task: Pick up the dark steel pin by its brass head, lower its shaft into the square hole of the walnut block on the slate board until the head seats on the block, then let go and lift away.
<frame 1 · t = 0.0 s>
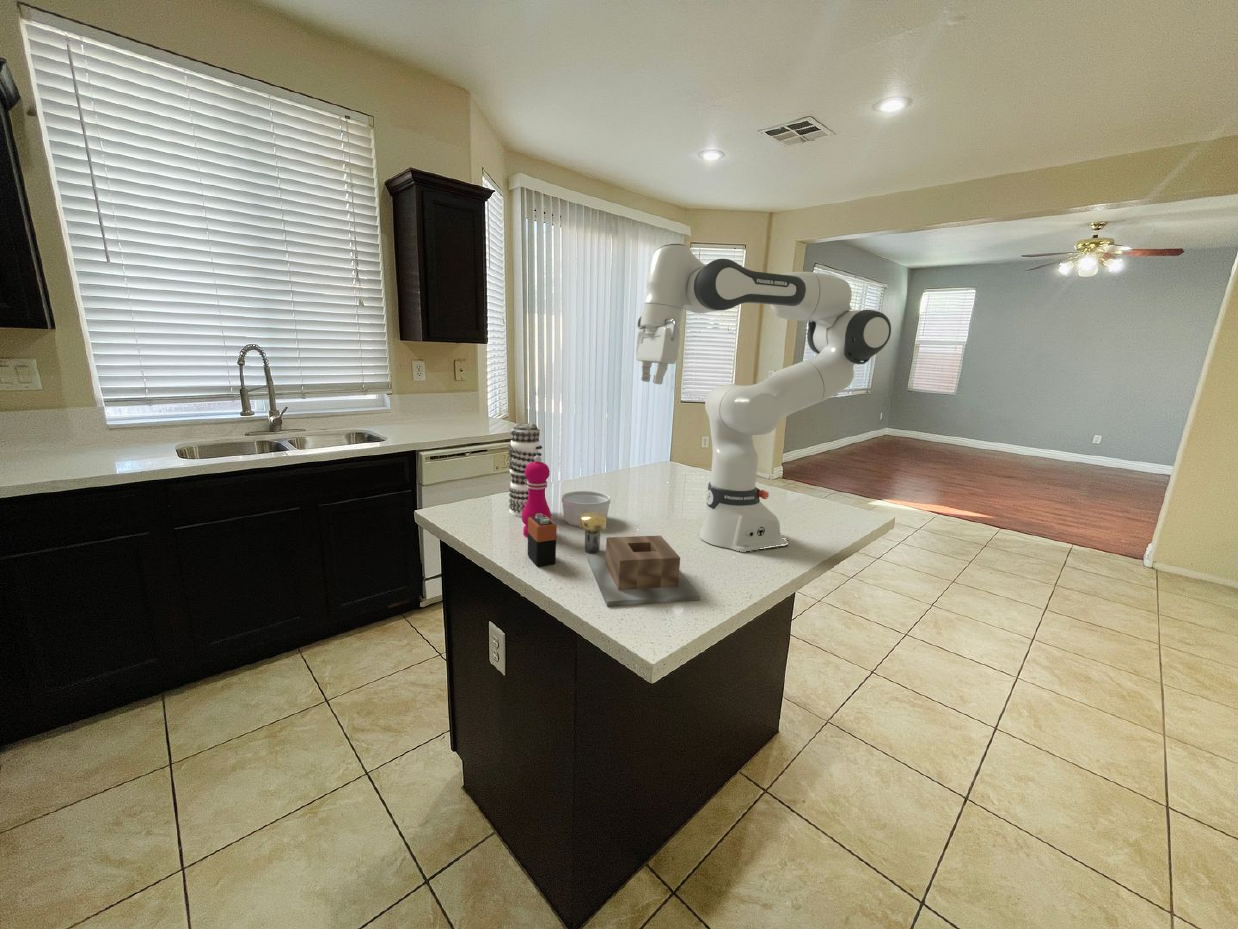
hand: (651, 382, 112), 39 cm above the table, tool pointing down, fingers open, 8 cm apart
pepper mill: (536, 534, 122), on the table
battery: (541, 560, 107), on the table
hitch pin: (592, 550, 113), on the table
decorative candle: (524, 512, 138), on the table
ramekin: (585, 521, 134), on the table
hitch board: (639, 579, 100), on the table
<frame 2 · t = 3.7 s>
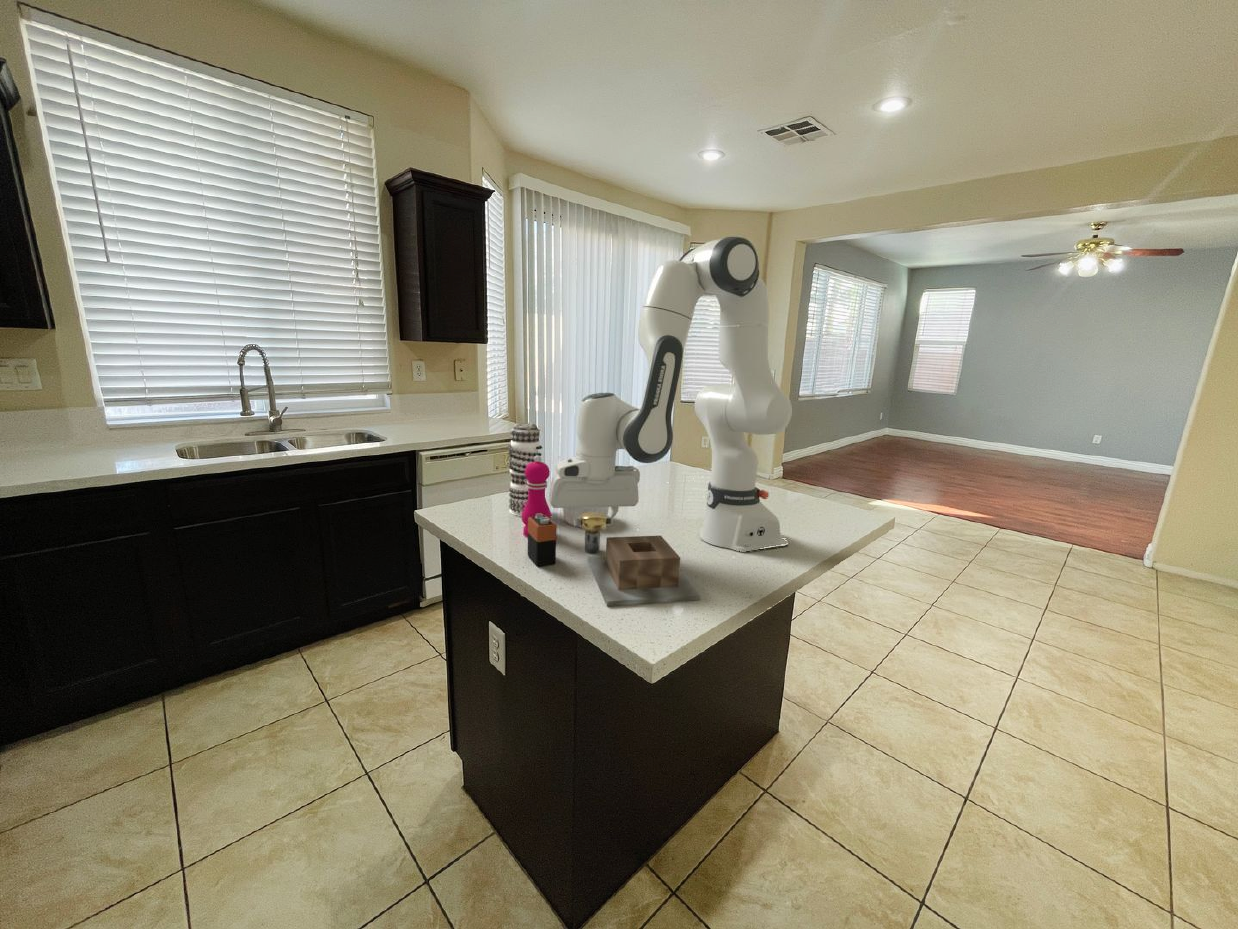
hand: (593, 524, 112), 6 cm above the table, tool pointing down, fingers closed on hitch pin, 6 cm apart
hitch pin: (591, 550, 113), on the table, touching gripper
everything else where it was.
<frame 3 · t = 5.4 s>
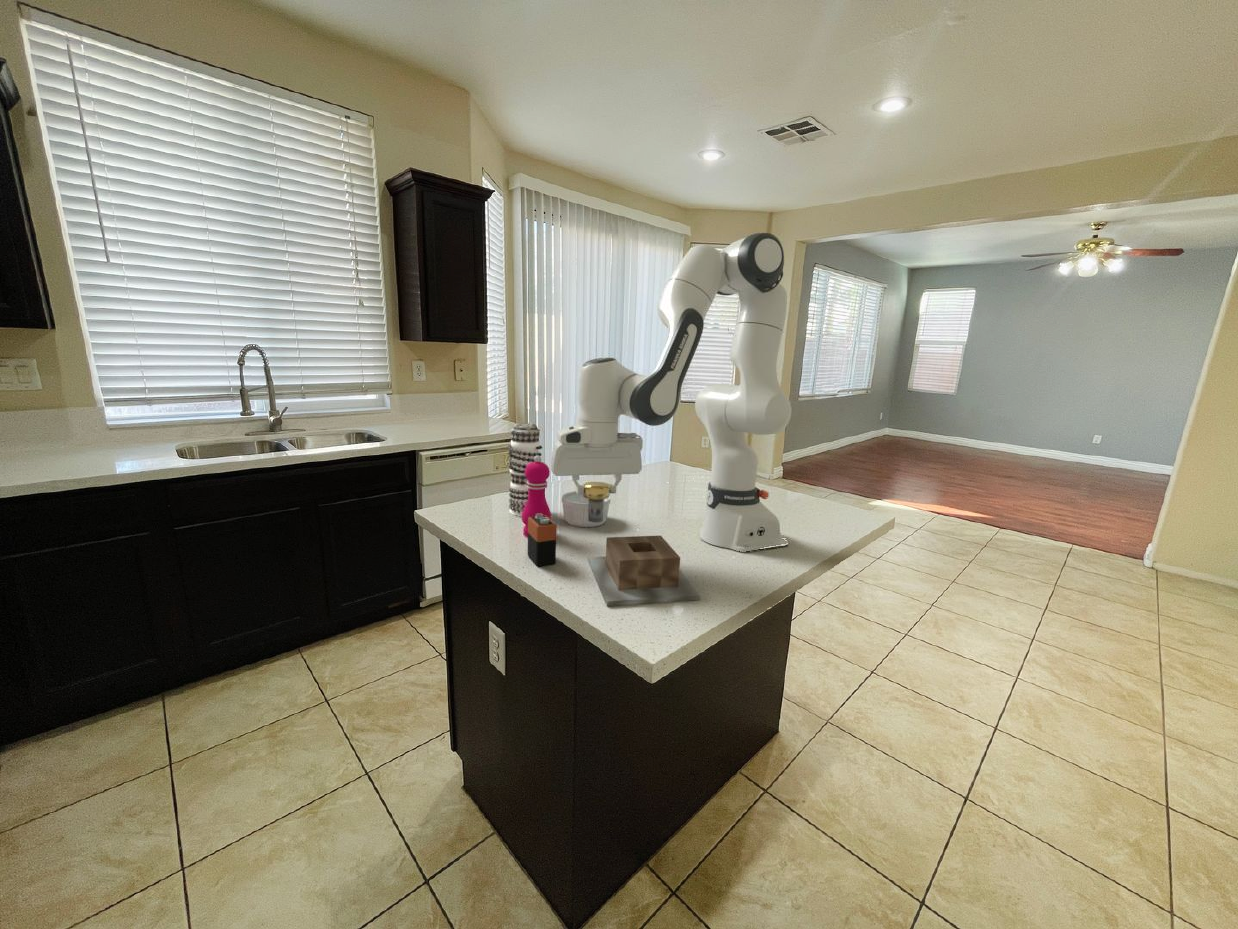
hand: (596, 493, 110), 14 cm above the table, tool pointing down, fingers closed on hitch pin, 6 cm apart
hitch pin: (595, 520, 112), point 7 cm above the table, touching gripper
everything else where it was.
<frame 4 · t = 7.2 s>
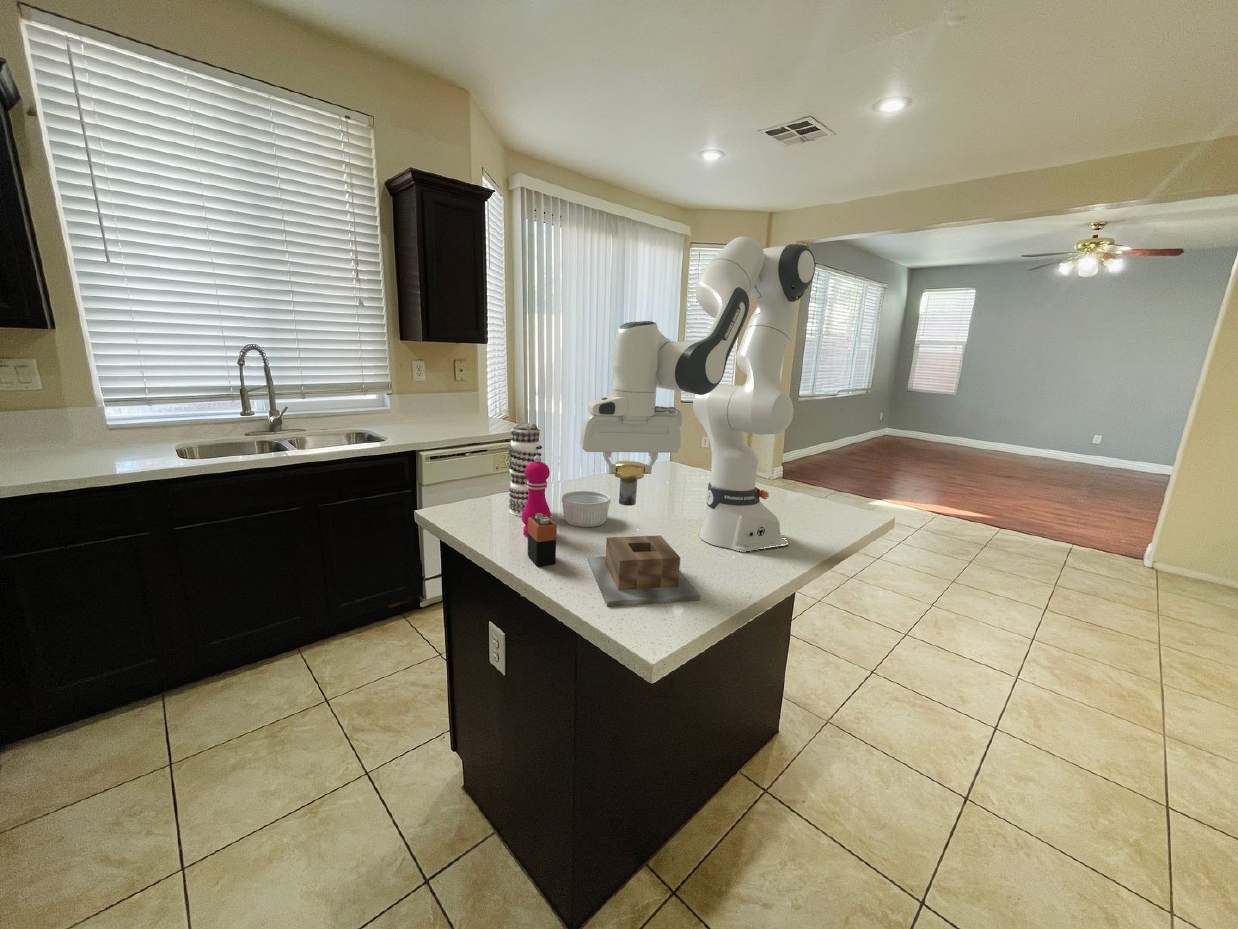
hand: (629, 473, 99), 21 cm above the table, tool pointing down, fingers closed on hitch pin, 6 cm apart
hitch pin: (627, 503, 101), point 15 cm above the table, touching gripper
everything else where it was.
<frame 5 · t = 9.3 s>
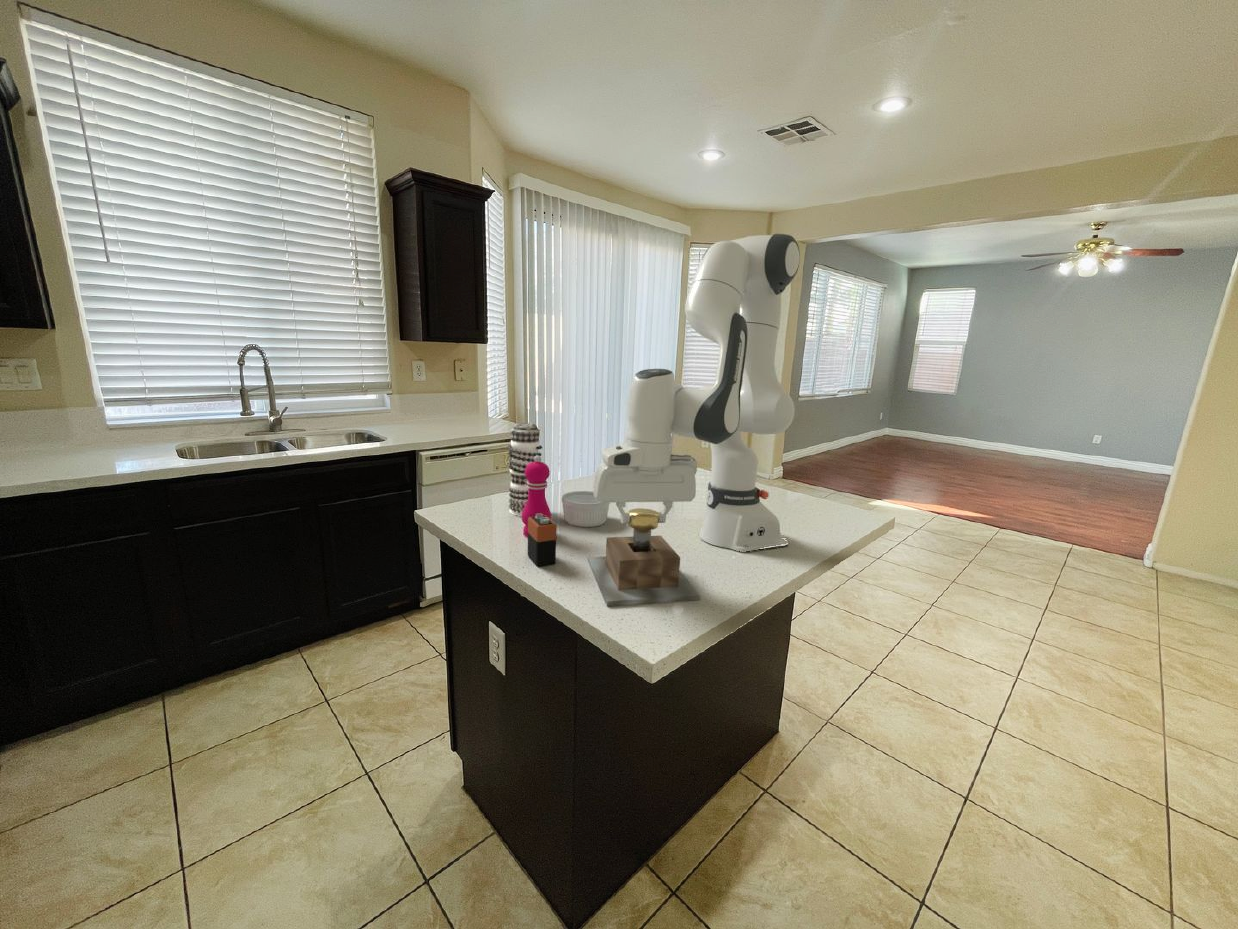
hand: (642, 522, 97), 12 cm above the table, tool pointing down, fingers closed on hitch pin, 6 cm apart
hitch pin: (640, 552, 98), point 6 cm above the table, touching gripper
everything else where it was.
when the fingers open (8 cm above the table, at t = 11.0 s): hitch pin stays where it is, resting on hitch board.
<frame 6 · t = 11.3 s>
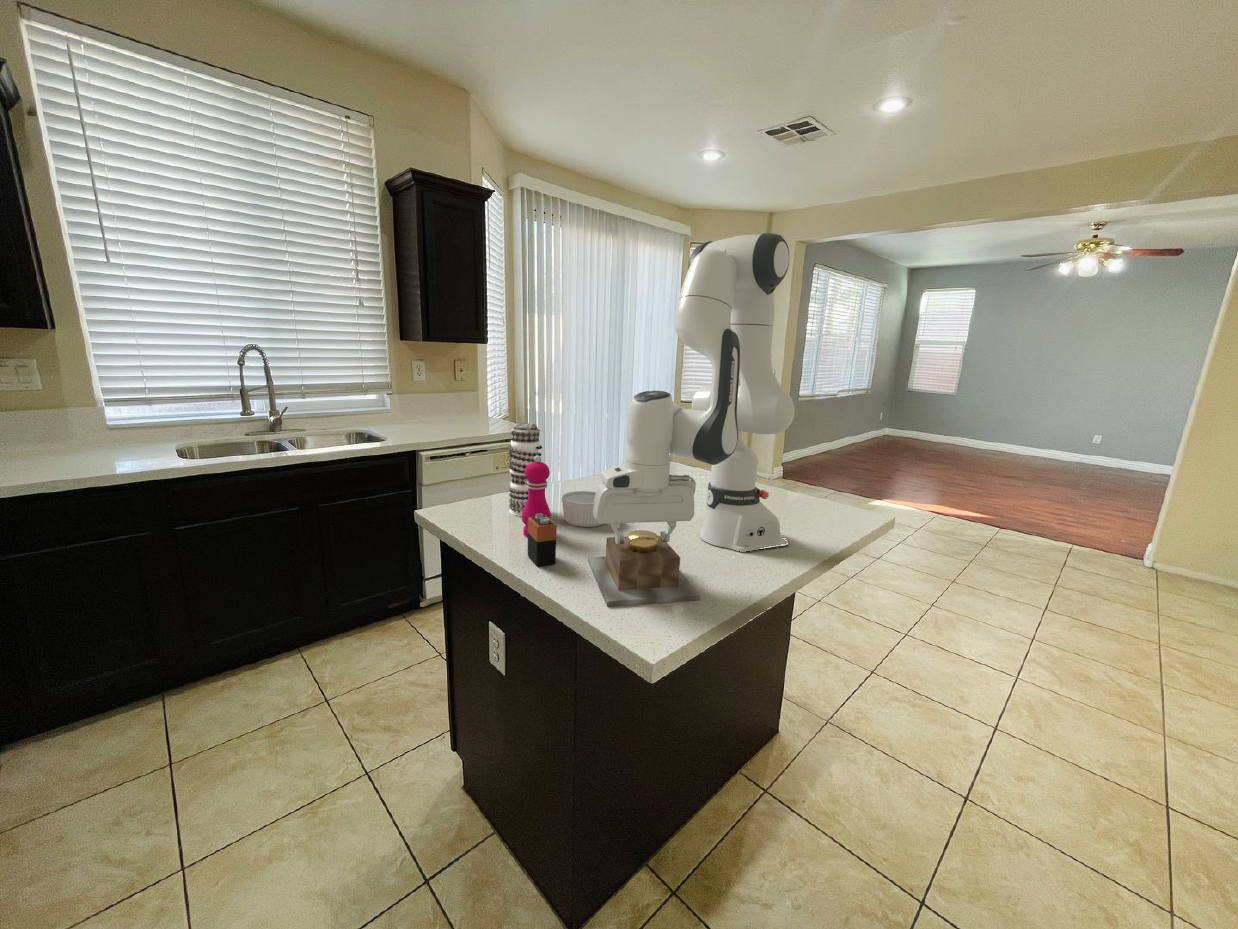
hand: (642, 542, 98), 8 cm above the table, tool pointing down, fingers open, 8 cm apart
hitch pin: (640, 573, 99), point 1 cm above the table, touching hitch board
everything else where it was.
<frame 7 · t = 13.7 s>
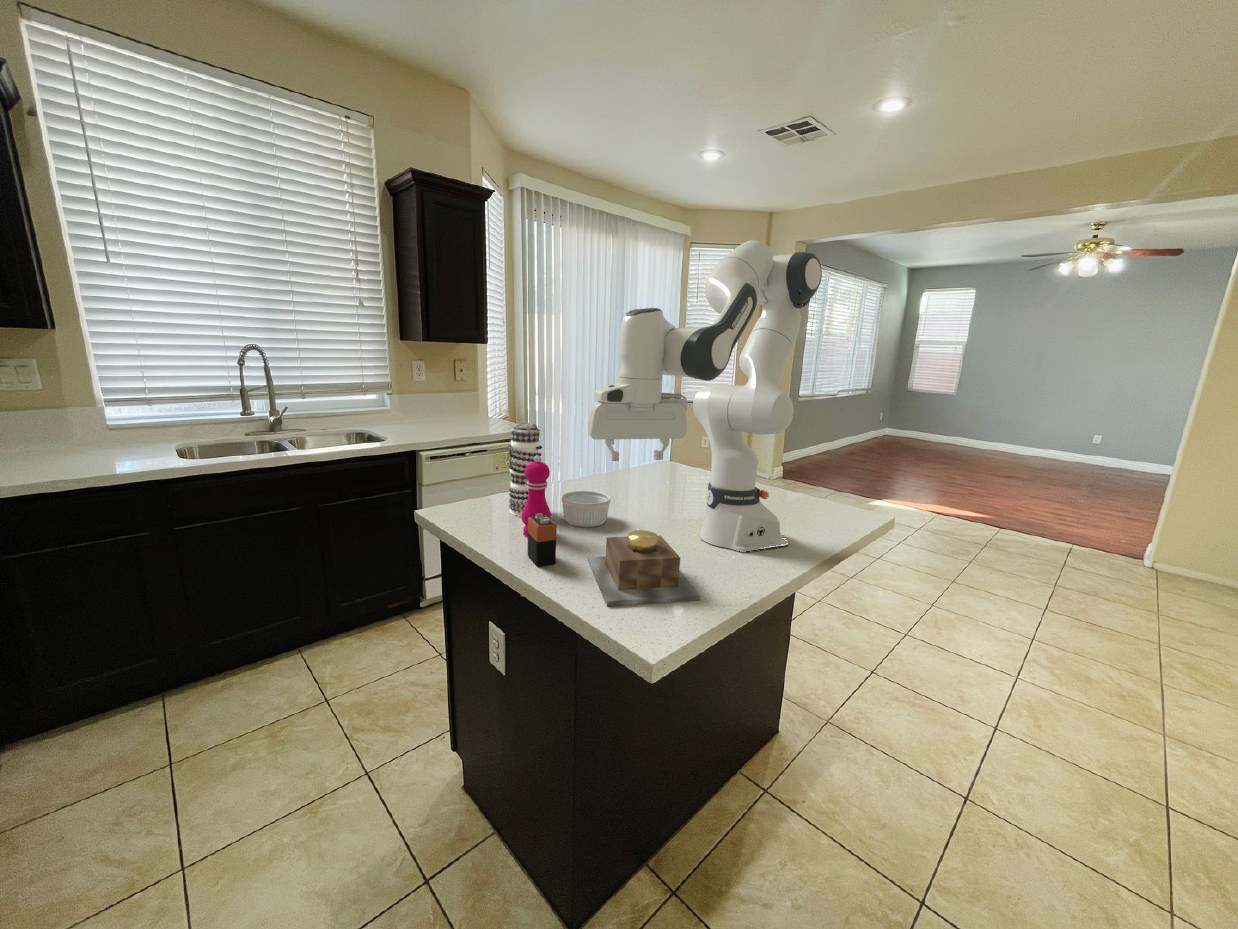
hand: (636, 460, 100), 24 cm above the table, tool pointing down, fingers open, 8 cm apart
nothing on the table moved.
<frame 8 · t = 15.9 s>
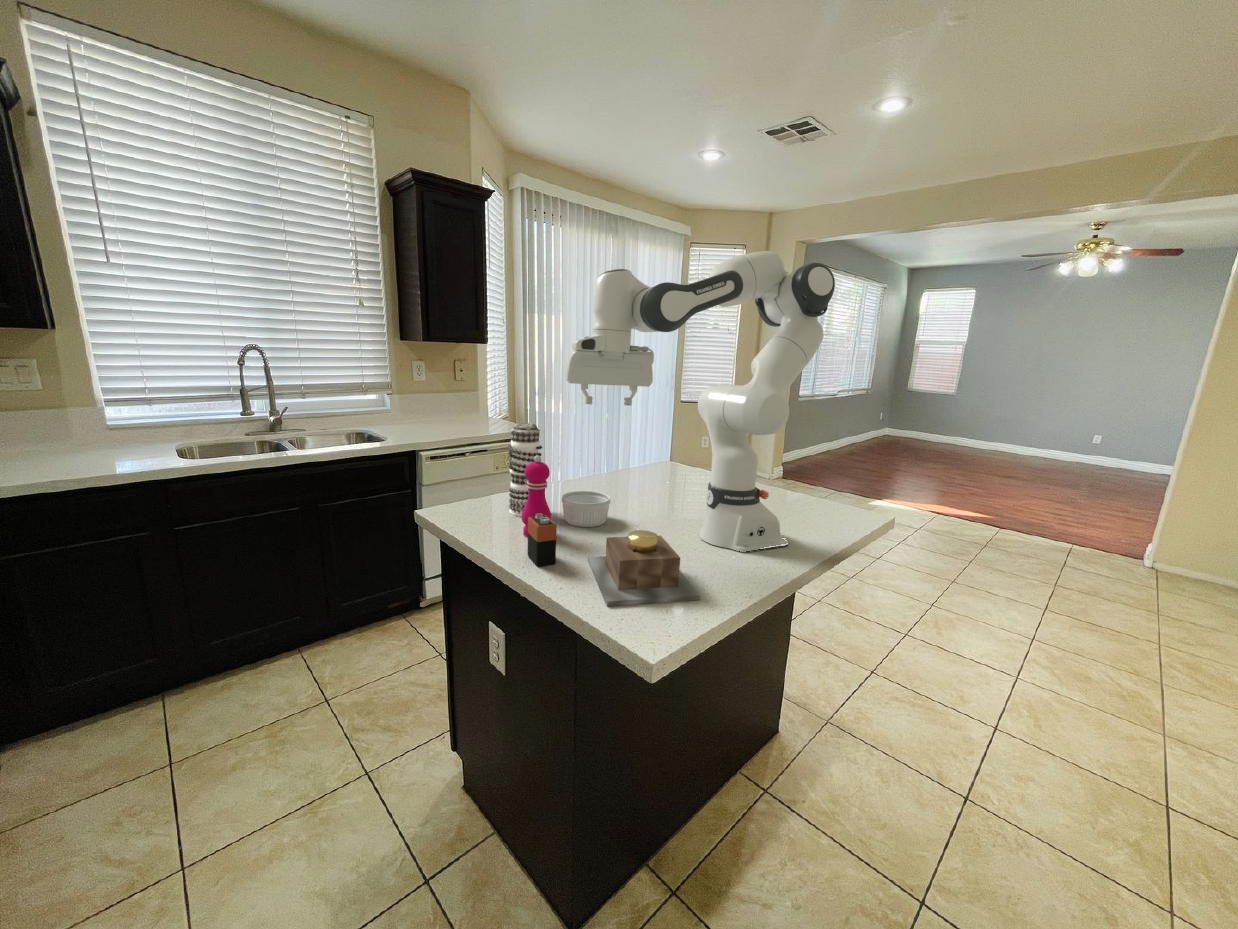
hand: (608, 404, 115), 33 cm above the table, tool pointing down, fingers open, 8 cm apart
nothing on the table moved.
at the end: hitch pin 0.1 cm off-centre on the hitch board, point 1.2 cm above the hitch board's base; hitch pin tilted 0°; the gripper is holding nothing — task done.
